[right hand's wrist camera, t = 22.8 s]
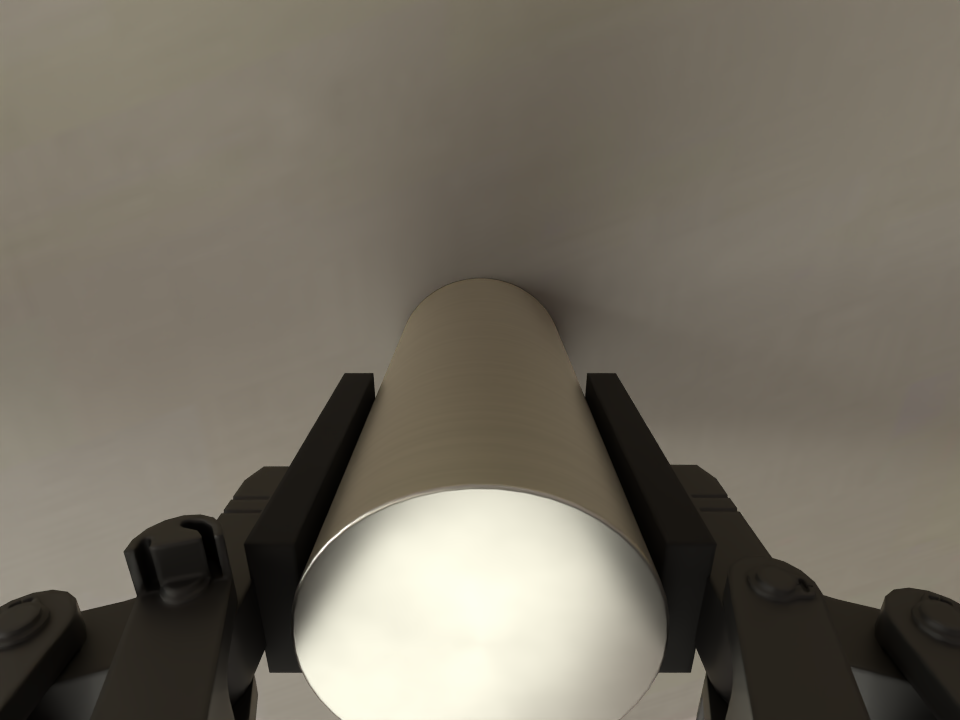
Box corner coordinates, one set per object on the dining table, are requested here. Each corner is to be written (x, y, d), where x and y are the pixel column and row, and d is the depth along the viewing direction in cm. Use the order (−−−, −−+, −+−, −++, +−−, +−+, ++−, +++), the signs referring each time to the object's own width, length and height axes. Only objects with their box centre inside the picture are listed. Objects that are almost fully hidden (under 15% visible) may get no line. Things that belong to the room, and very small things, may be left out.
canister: (561, 273, 18) (688, 476, 7) (560, 424, 20) (656, 762, 9) (392, 281, 18) (254, 493, 7) (408, 430, 20) (321, 771, 9)
